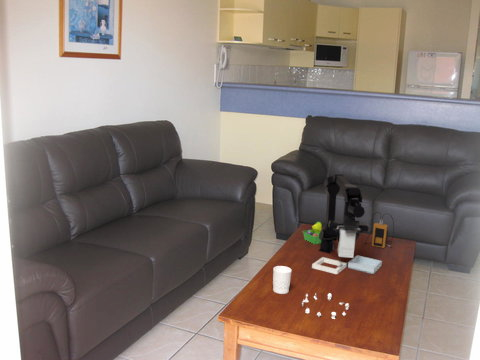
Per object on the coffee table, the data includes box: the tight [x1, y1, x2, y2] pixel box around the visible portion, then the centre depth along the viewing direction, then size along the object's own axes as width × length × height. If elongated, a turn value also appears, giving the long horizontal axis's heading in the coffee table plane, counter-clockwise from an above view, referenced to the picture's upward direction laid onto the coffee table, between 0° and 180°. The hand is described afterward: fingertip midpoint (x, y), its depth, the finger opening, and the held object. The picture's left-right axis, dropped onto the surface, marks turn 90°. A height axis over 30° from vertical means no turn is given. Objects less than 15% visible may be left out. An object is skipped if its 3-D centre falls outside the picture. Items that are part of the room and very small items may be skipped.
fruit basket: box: [302, 221, 323, 245], centre depth 299 cm, size 11×9×11 cm
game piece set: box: [301, 292, 350, 320], centre depth 215 cm, size 19×20×4 cm
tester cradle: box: [311, 256, 348, 275], centre depth 261 cm, size 13×13×3 cm
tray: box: [347, 254, 383, 275], centre depth 264 cm, size 13×13×3 cm
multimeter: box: [364, 211, 395, 249], centre depth 299 cm, size 15×10×20 cm
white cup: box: [272, 265, 293, 295], centre depth 229 cm, size 8×8×10 cm
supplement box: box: [337, 227, 356, 259], centre depth 260 cm, size 7×7×13 cm
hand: (346, 242), depth 260 cm, fingers closed on supplement box, 7 cm apart
